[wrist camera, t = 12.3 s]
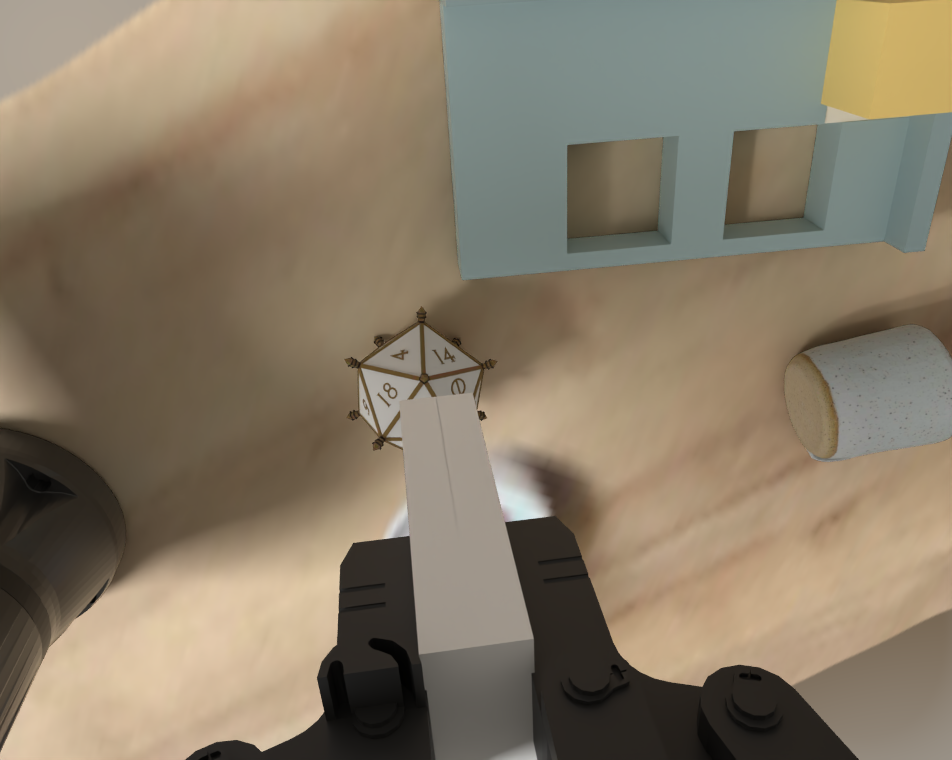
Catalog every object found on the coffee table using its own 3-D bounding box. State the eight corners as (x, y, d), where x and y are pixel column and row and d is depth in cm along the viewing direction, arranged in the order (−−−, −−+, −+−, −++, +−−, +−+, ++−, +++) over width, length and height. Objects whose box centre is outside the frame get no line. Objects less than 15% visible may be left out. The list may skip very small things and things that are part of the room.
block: (820, 103, 41) (869, 119, 37) (837, -2, 38) (890, 3, 35) (909, 96, 41) (967, 110, 37) (931, -9, 39) (995, -5, 35)
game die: (403, 308, 51) (409, 262, 41) (508, 384, 51) (539, 357, 41) (319, 418, 49) (304, 397, 39) (428, 497, 49) (441, 496, 39)
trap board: (458, 264, 46) (465, 293, 42) (437, -21, 38) (444, -18, 34) (879, 226, 47) (924, 250, 43) (937, -54, 40) (997, -55, 36)
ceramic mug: (773, 334, 50) (833, 395, 44) (897, 303, 50) (975, 359, 44) (778, 461, 56) (832, 532, 49) (889, 433, 56) (958, 500, 49)
